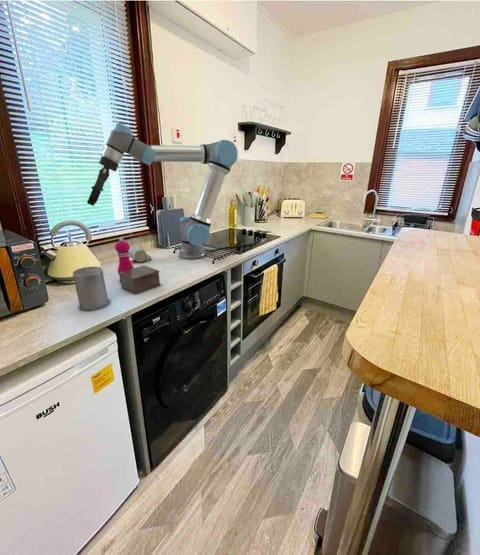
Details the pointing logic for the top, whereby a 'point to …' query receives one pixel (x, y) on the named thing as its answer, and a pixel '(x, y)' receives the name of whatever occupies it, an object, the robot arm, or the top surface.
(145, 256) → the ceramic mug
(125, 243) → the pepper mill
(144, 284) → the block
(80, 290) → the pillar candle
